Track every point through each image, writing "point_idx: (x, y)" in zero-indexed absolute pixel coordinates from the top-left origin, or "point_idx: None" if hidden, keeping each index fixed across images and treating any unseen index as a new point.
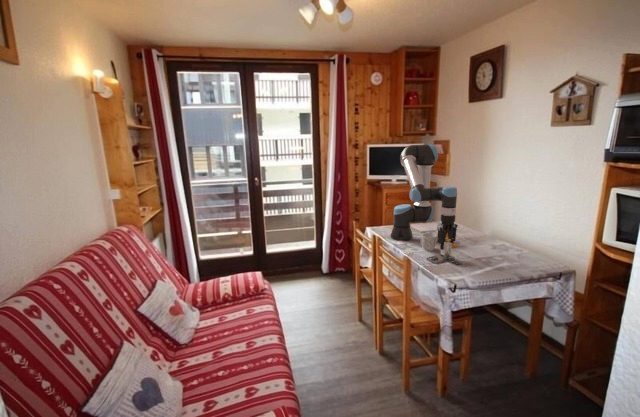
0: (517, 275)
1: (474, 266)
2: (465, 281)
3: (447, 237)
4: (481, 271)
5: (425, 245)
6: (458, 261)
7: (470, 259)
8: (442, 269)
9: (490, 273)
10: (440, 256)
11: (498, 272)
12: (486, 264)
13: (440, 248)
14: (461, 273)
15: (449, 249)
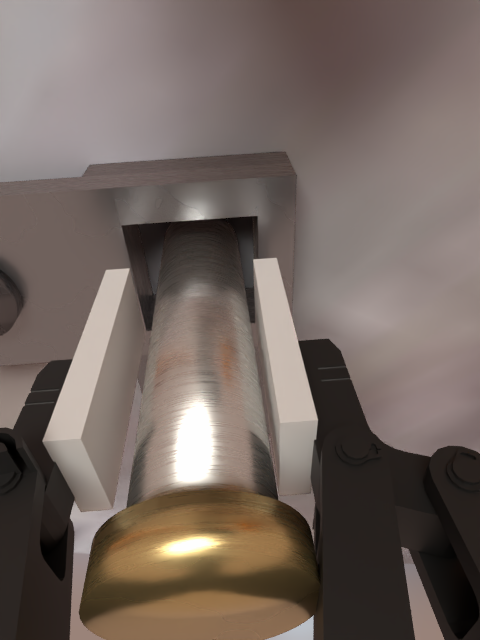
0: (413, 561)
1: None
2: None
3: None
4: (289, 500)
5: None
6: (261, 384)
7: (474, 334)
8: (3, 408)
9: (311, 525)
10: (108, 259)
11: None
12: (453, 445)
13: (41, 378)
14: (123, 488)
15: (261, 361)
